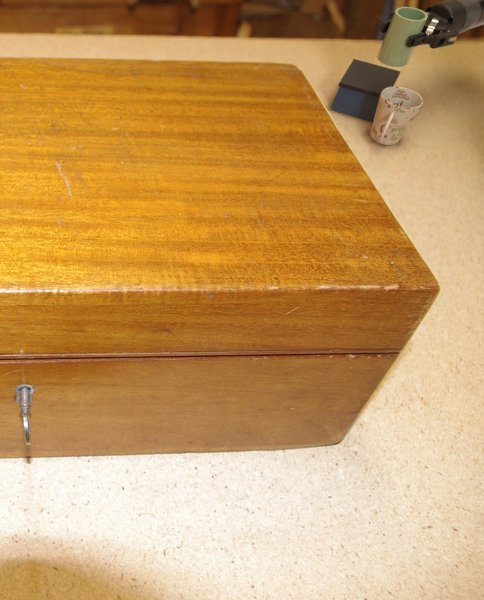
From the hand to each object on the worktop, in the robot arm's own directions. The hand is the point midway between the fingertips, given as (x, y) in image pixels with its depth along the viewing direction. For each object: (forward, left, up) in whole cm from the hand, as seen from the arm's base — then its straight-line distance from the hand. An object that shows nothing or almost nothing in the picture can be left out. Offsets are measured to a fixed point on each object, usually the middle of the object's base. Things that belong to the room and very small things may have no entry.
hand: (395, 34), depth 144 cm
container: (+2, -7, -20) cm, 21 cm away
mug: (-6, +6, -20) cm, 22 cm away
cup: (-1, -2, -6) cm, 6 cm away
